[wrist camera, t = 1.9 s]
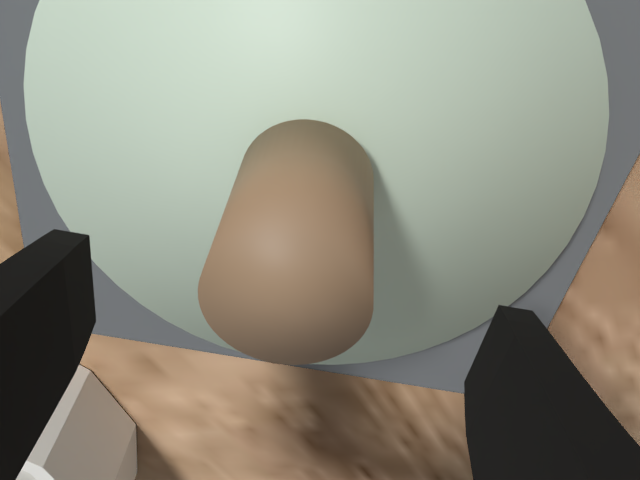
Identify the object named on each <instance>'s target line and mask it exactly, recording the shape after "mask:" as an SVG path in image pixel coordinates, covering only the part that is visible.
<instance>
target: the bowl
mask: <svg viewBox="0 0 640 480" xmlns="http://www.w3.org/2000/svg"><path fill="white" fill-rule="evenodd" d="M136 474H137V440H136V424H135V423H134V422H133V420H132V419H131V418H130V417H129V416H128V414H127V413H126V412H125V411H124V410H123V409H122V407H121V406H120V405H119V404H118V403H117V401H116V400H115V399H114V398H113V397H112V395H111V394H110V393H109V392H108V391H107V389H106V388H105V387H104V386H103V385H102V384H101V382H100V381H99V380H98V379H97V378H96V376H95V375H94V374H93V373H92V372H91V371H90V370H89V369H87V368H85V367H83V366H81V365H79V366H78V368H77V370H76V373H75V374H74V376H73V378H72V380H71V382H70V384H69V385H68V387H67V389H66V391H65V393H64V395H63V396H62V398H61V400H60V402H59V404H58V405H57V407H56V409H55V411H54V413H53V414H52V416H51V418H50V420H49V421H48V423H47V425H46V427H45V428H44V430H43V432H42V434H41V436H40V437H39V439H38V441H37V443H36V444H35V446H34V448H33V450H32V452H31V453H30V455H29V457H28V459H27V460H26V462H25V464H24V466H23V468H22V469H21V471H20V473H19V475H18V476H17V478H16V480H135V477H136Z"/></svg>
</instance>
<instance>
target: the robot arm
mask: <svg viewBox="0 0 640 480" xmlns="http://www.w3.org/2000/svg"><path fill="white" fill-rule="evenodd" d="M95 323H96V312H95V299H94V287H93V275H92V262H91V250H90V237H89V235H86V234H80V233H75V232H69V231H63V230H57V229H53V230H52V231H50V232H48V233H47V234H45V235H43V236H42V237H40V238H39V239H37V240H36V241H34V242H33V243H31V244H30V245H28V246H27V247H25V248H24V249H22V250H21V251H19V252H18V253H16V254H14V255H13V256H11V257H10V258H8V259H7V260H5V261H4V262H2V263H1V264H0V480H16V478H17V476H18V475H19V473H20V471H21V469H22V468H23V466H24V464H25V462H26V460H27V459H28V457H29V455H30V453H31V452H32V450H33V448H34V446H35V444H36V443H37V441H38V439H39V437H40V436H41V434H42V432H43V430H44V428H45V427H46V425H47V423H48V421H49V420H50V418H51V416H52V414H53V413H54V411H55V409H56V407H57V405H58V404H59V402H60V400H61V398H62V396H63V395H64V393H65V391H66V389H67V387H68V385H69V384H70V382H71V380H72V378H73V376H74V374H75V373H76V370H77V368H78V366H79V363H80V361H81V358H82V356H83V354H84V351H85V349H86V346H87V344H88V341H89V338H90V336H91V333H92V331H93V328H94V325H95ZM464 396H465V422H466V437H467V444H468V450H469V456H470V462H471V468H472V474H473V480H640V446H639V445H638V444H637V443H636V442H635V440H634V439H633V438H632V437H631V436H630V435H629V434H628V432H627V431H626V430H625V429H624V428H623V426H622V425H621V424H620V423H619V422H618V420H617V419H616V418H615V417H614V415H613V414H612V413H611V412H610V411H609V409H608V408H607V407H606V406H605V404H604V403H603V402H602V401H601V399H600V398H599V397H598V395H597V394H596V393H595V392H594V390H593V389H592V388H591V387H590V385H589V384H588V383H587V381H586V380H585V379H584V377H583V376H582V375H581V374H580V372H579V371H578V370H577V368H576V367H575V366H574V364H573V363H572V362H571V360H570V359H569V358H568V356H567V355H566V354H565V352H564V351H563V350H562V348H561V347H560V346H559V344H558V343H557V342H556V340H555V339H554V338H553V336H552V335H551V334H550V332H549V331H548V330H547V328H546V327H545V326H544V324H543V323H542V322H541V320H540V319H539V318H538V317H537V315H536V314H535V313H534V312H533V311H532V310H526V309H520V308H514V307H508V306H503V305H498V308H497V310H496V312H495V314H494V316H493V319H492V321H491V323H490V325H489V328H488V330H487V332H486V334H485V337H484V339H483V341H482V343H481V345H480V348H479V350H478V352H477V354H476V357H475V359H474V361H473V363H472V366H471V368H470V370H469V372H468V374H467V377H466V379H465V381H464Z"/></svg>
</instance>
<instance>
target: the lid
mask: <svg viewBox="0 0 640 480" xmlns="http://www.w3.org/2000/svg"><path fill="white" fill-rule="evenodd" d="M24 99H25V113H26V122H27V127H28V132H29V137H30V141H31V146H32V151H33V155H34V157H35V160H36V163H37V166H38V169H39V172H40V175H41V177H42V180H43V183H44V185H45V187H46V189H47V191H48V193H49V195H50V198H51V200H52V202H53V204H54V206H55V208H56V210H57V212H58V214H59V215H60V217H61V218H62V220H63V221H64V223H65V224H66V226H67V227H68V229H69V230H70V232H75V233H80V234H86V235H89V237H90V250H91V259H92V260H93V262H94V263H95V264H96V265H97V266H98V267H99V268H100V269H101V270H102V271H103V272H104V273H105V274H106V275H107V276H108V277H109V278H110V279H111V280H112V281H113V282H114V283H115V284H116V285H117V286H119V287H120V288H121V289H122V290H124V291H125V292H126V293H127V294H129V295H130V296H131V297H132V298H134V299H135V300H136V301H137V302H139V303H140V304H141V305H143V306H144V307H146V308H147V309H149V310H150V311H152V312H153V313H155V314H156V315H158V316H160V317H161V318H163V319H164V320H166V321H167V322H169V323H171V324H173V325H175V326H177V327H179V328H181V329H183V330H185V331H187V332H188V333H190V334H192V335H195V336H197V337H199V338H202V339H204V340H207V341H209V342H212V343H214V344H217V345H219V346H222V347H225V348H228V349H232V350H235V351H238V352H241V353H244V354H246V355H248V356H251V357H253V358H256V359H259V360H262V361H266V362H271V363H276V364H284V365H304V364H324V365H340V364H355V363H367V362H373V361H379V360H385V359H392V358H396V357H400V356H404V355H407V354H411V353H415V352H419V351H422V350H425V349H428V348H431V347H433V346H436V345H439V344H441V343H444V342H447V341H449V340H452V339H454V338H456V337H458V336H460V335H462V334H464V333H466V332H468V331H470V330H472V329H474V328H476V327H478V326H479V325H481V324H482V323H484V322H486V321H487V320H489V319H490V318H492V317H493V316H494V314H495V312H496V310H497V308H498V305H503V306H509V305H510V304H512V303H513V302H514V301H515V300H517V299H518V298H519V297H520V296H522V295H523V294H524V293H525V292H526V291H527V290H528V289H529V288H530V287H531V286H532V285H533V284H534V283H535V282H536V281H537V280H538V279H539V278H540V277H541V276H542V275H543V274H544V273H545V272H546V271H547V270H548V269H549V268H550V266H551V265H552V264H553V263H554V261H555V260H556V259H557V257H558V256H559V255H560V254H561V252H562V251H563V250H564V248H565V247H566V246H567V244H568V243H569V241H570V239H571V237H572V236H573V234H574V232H575V231H576V229H577V227H578V226H579V224H580V222H581V220H582V219H583V217H584V215H585V212H586V210H587V208H588V205H589V203H590V200H591V198H592V196H593V193H594V191H595V188H596V186H597V182H598V179H599V175H600V171H601V167H602V163H603V159H604V155H605V151H606V142H607V132H608V123H609V98H608V77H607V72H606V67H605V63H604V58H603V53H602V48H601V43H600V38H599V36H598V33H597V30H596V28H595V25H594V22H593V20H592V17H591V14H590V12H589V9H588V6H587V4H586V1H585V0H39V3H38V5H37V8H36V10H35V13H34V17H33V22H32V26H31V30H30V35H29V39H28V43H27V48H26V58H25V72H24Z"/></svg>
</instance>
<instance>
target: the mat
mask: <svg viewBox="0 0 640 480" xmlns="http://www.w3.org/2000/svg"><path fill="white" fill-rule="evenodd" d="M585 1H586V4H587V6H588V9H589V12H590V14H591V17H592V20H593V22H594V25H595V28H596V30H597V33H598V36H599V38H600V43H601V48H602V53H603V58H604V63H605V67H606V72H607V77H608V98H609V123H608V132H607V142H606V151H605V155H604V159H603V163H602V167H601V171H600V175H599V179H598V182H597V186H596V188H595V191H594V193H593V196H592V198H591V200H590V203H589V205H588V208H587V210H586V212H585V215H584V217H583V219H582V220H581V222H580V224H579V226H578V227H577V229H576V231H575V232H574V234H573V236H572V237H571V239H570V241H569V243H568V244H567V246H566V247H565V248H564V250H563V251H562V252H561V254H560V255H559V256H558V257H557V259H556V260H555V261H554V263H553V264H552V265H551V266H550V268H549V269H548V270H547V271H546V272H545V273H544V274H543V275H542V276H541V277H540V278H539V279H538V280H537V281H536V282H535V283H534V284H533V285H532V286H531V287H530V288H529V289H528V290H527V291H526V292H525V293H524V294H523V295H522V296H520V297H519V298H518V299H517V300H515V301H514V302H513V303H512V304H510V305H509V306H508V307H514V308H520V309H526V310H532V311H533V312H534V313H535V314H536V315H537V317H538V318H539V319H540V320H541V322H542V323H543V324H544V326H545V327H546V328H548V326H549V324H550V322H551V320H552V318H553V316H554V314H555V313H556V311H557V309H558V307H559V305H560V303H561V301H562V299H563V297H564V295H565V294H566V292H567V290H568V288H569V286H570V284H571V282H572V280H573V278H574V277H575V275H576V273H577V271H578V269H579V267H580V265H581V263H582V261H583V260H584V258H585V256H586V254H587V252H588V250H589V248H590V246H591V244H592V242H593V241H594V239H595V237H596V235H597V233H598V231H599V229H600V227H601V225H602V224H603V222H604V220H605V218H606V216H607V214H608V212H609V210H610V208H611V206H612V205H613V203H614V201H615V199H616V197H617V195H618V193H619V191H620V189H621V188H622V186H623V184H624V182H625V180H626V178H627V176H628V174H629V172H630V171H631V169H632V167H633V165H634V163H635V161H636V159H637V157H638V155H639V153H640V0H585ZM38 3H39V0H0V101H1V107H2V113H3V119H4V126H5V132H6V138H7V144H8V150H9V157H10V163H11V169H12V175H13V182H14V188H15V194H16V200H17V206H18V213H19V219H20V225H21V231H22V237H23V244H24V248H25V247H27V246H28V245H30V244H31V243H33V242H34V241H36V240H37V239H39V238H40V237H42V236H43V235H45V234H47V233H48V232H50V231H52V230H53V229H57V230H63V231H69V232H70V230H69V229H68V227H67V226H66V224H65V223H64V221H63V220H62V218H61V217H60V215H59V214H58V212H57V210H56V208H55V206H54V204H53V202H52V200H51V198H50V195H49V193H48V191H47V189H46V187H45V185H44V183H43V180H42V177H41V175H40V172H39V169H38V166H37V163H36V160H35V157H34V155H33V151H32V146H31V141H30V137H29V132H28V127H27V122H26V113H25V99H24V72H25V58H26V48H27V43H28V39H29V35H30V30H31V26H32V22H33V17H34V13H35V10H36V8H37V5H38ZM91 262H92V275H93V287H94V299H95V312H96V323H95V325H94V328H93V331H92V334H98V335H104V336H110V337H117V338H123V339H129V340H135V341H141V342H148V343H154V344H160V345H166V346H172V347H178V348H185V349H191V350H197V351H203V352H209V353H216V354H222V355H228V356H234V357H240V358H247V359H253V360H259V359H256V358H253V357H251V356H248V355H246V354H244V353H241V352H238V351H235V350H232V349H228V348H225V347H222V346H219V345H217V344H214V343H212V342H209V341H207V340H204V339H202V338H199V337H197V336H195V335H192V334H190V333H188V332H187V331H185V330H183V329H181V328H179V327H177V326H175V325H173V324H171V323H169V322H167V321H166V320H164V319H163V318H161V317H160V316H158V315H156V314H155V313H153V312H152V311H150V310H149V309H147V308H146V307H144V306H143V305H141V304H140V303H139V302H137V301H136V300H135V299H134V298H132V297H131V296H130V295H129V294H127V293H126V292H125V291H124V290H122V289H121V288H120V287H119V286H117V285H116V284H115V283H114V282H113V281H112V280H111V279H110V278H109V277H108V276H107V275H106V274H105V273H104V272H103V271H102V270H101V269H100V268H99V267H98V266H97V265H96V264H95V263H94V262H93V260H92V259H91ZM492 319H493V317H492V318H490V319H489V320H487V321H486V322H484V323H482V324H481V325H479V326H478V327H476V328H474V329H472V330H470V331H468V332H466V333H464V334H462V335H460V336H458V337H456V338H454V339H452V340H449V341H447V342H444V343H441V344H439V345H436V346H433V347H431V348H428V349H425V350H422V351H419V352H415V353H411V354H407V355H404V356H400V357H396V358H392V359H385V360H379V361H373V362H367V363H355V364H340V365H324V364H304V365H290V366H296V367H302V368H309V369H315V370H321V371H327V372H333V373H339V374H346V375H352V376H358V377H364V378H370V379H377V380H383V381H389V382H395V383H401V384H408V385H414V386H420V387H426V388H432V389H439V390H445V391H451V392H457V393H463V394H464V381H465V379H466V377H467V374H468V372H469V370H470V368H471V366H472V363H473V361H474V359H475V357H476V354H477V352H478V350H479V348H480V345H481V343H482V341H483V339H484V337H485V334H486V332H487V330H488V328H489V325H490V323H491V321H492ZM259 361H262V360H259ZM265 362H266V361H265Z"/></svg>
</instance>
